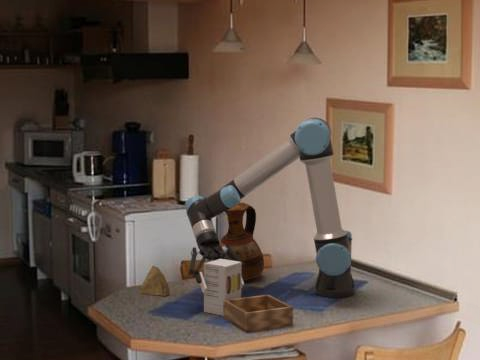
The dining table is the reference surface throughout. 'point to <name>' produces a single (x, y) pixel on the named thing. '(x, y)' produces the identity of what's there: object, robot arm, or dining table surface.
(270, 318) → the oak crate
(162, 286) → the rock
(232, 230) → the ceramic pitcher
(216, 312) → the supplement box
